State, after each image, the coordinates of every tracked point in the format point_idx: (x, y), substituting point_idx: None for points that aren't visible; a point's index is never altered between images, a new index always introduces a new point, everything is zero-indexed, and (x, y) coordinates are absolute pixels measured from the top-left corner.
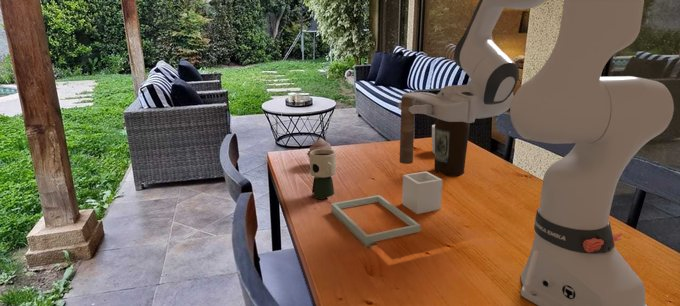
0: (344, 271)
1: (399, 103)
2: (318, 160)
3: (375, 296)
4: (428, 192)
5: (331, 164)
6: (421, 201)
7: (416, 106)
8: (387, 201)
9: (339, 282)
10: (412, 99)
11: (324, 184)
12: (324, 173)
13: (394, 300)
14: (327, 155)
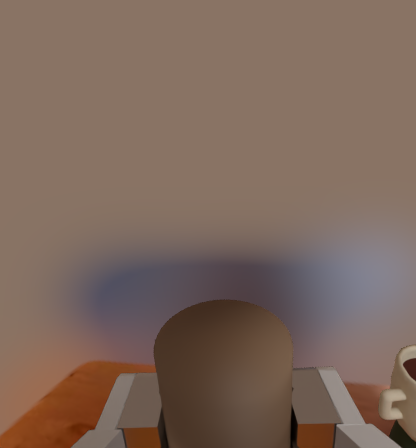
0: (108, 396)
1: (317, 368)
2: (394, 365)
3: (36, 410)
4: None
5: (385, 396)
6: None
7: (105, 414)
8: None
9: (94, 383)
10: (155, 355)
11: (398, 433)
12: (393, 406)
13: (7, 429)
14: (407, 375)
